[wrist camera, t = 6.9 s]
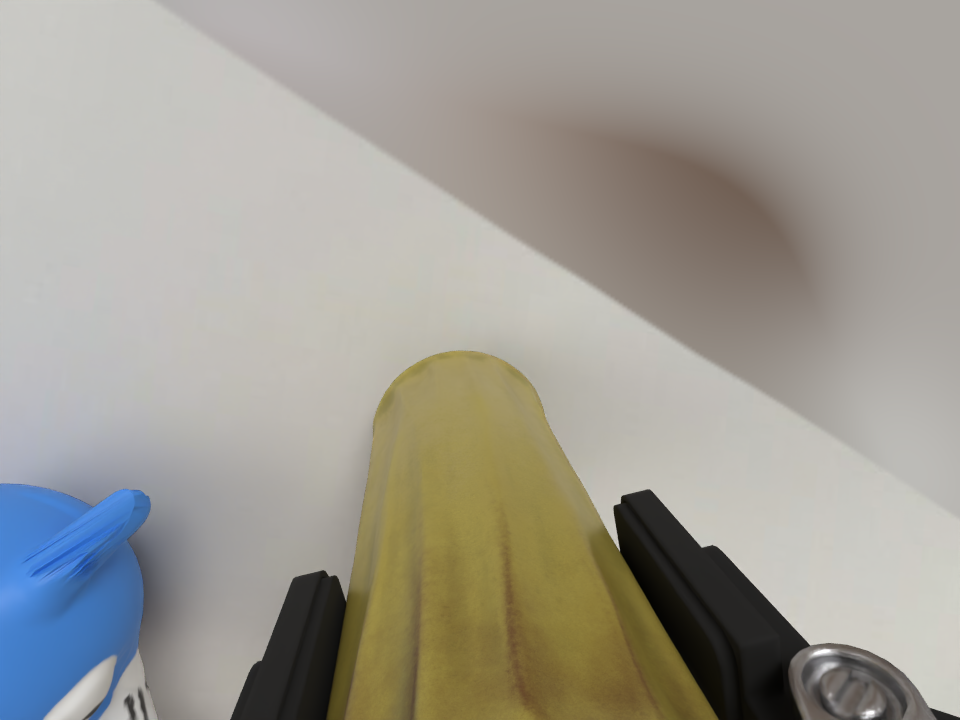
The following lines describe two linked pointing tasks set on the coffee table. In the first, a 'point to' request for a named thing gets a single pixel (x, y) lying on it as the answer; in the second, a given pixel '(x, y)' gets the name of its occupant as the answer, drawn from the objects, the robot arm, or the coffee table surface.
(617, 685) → the vase
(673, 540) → the robot arm
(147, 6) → the coffee table surface
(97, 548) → the blue mole toy
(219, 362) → the coffee table surface
